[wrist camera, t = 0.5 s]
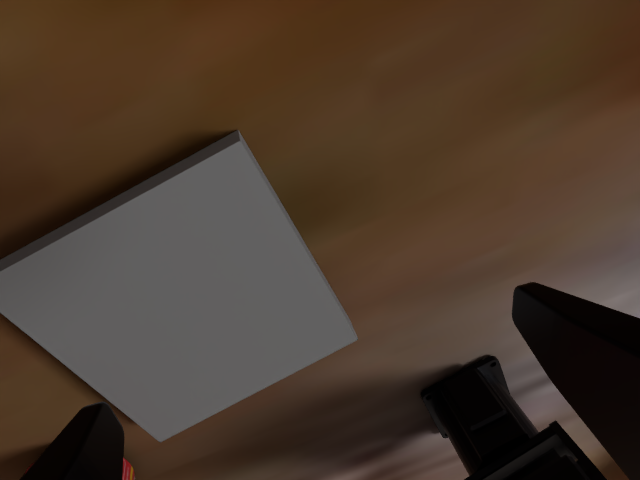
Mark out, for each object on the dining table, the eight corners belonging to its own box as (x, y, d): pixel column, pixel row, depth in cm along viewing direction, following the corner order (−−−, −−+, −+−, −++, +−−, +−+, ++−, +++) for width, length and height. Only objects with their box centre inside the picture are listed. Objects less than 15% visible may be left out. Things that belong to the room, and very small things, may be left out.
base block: (349, 318, 27) (358, 339, 26) (163, 416, 28) (160, 442, 26) (238, 129, 20) (239, 140, 18) (-10, 265, 21) (-31, 288, 19)
